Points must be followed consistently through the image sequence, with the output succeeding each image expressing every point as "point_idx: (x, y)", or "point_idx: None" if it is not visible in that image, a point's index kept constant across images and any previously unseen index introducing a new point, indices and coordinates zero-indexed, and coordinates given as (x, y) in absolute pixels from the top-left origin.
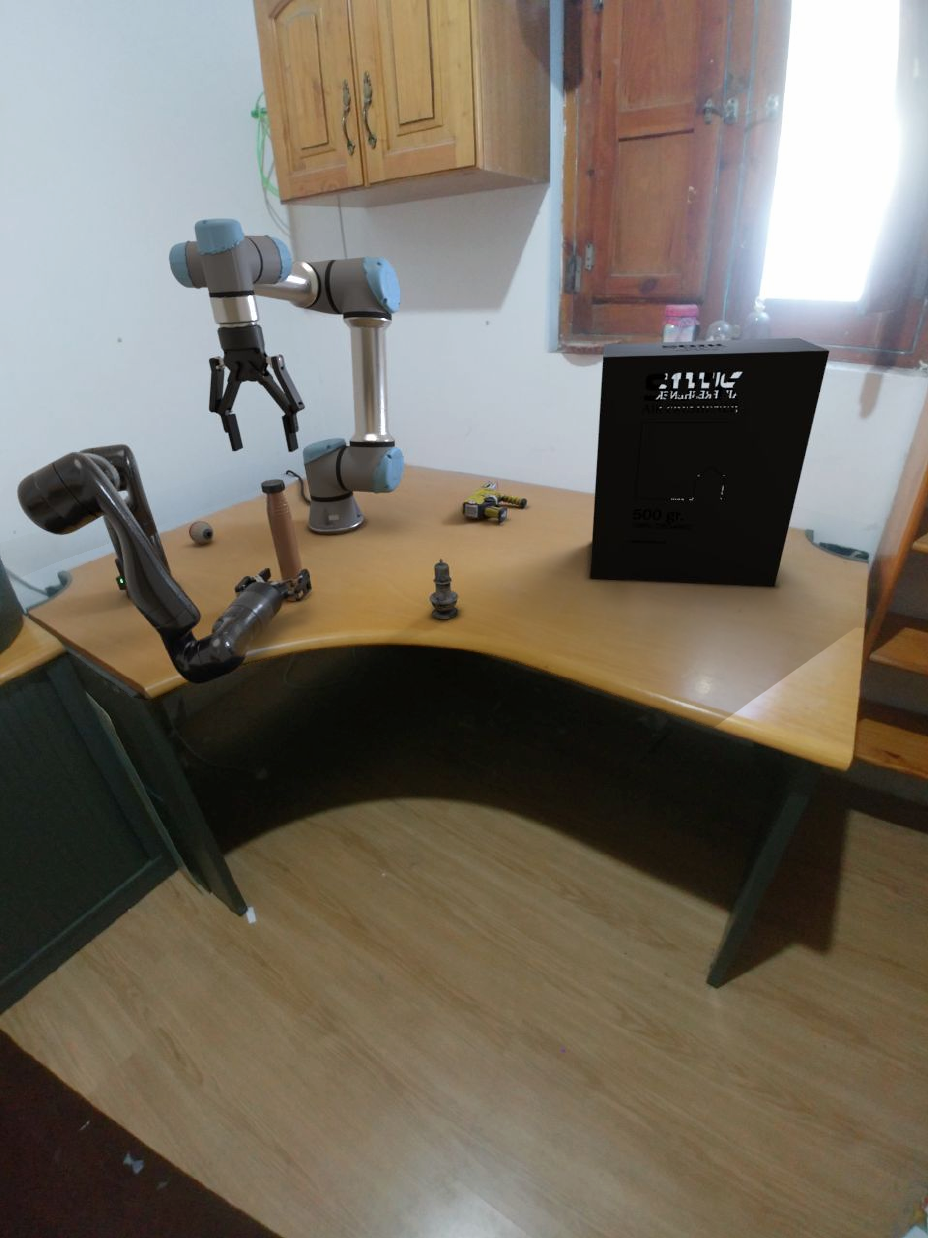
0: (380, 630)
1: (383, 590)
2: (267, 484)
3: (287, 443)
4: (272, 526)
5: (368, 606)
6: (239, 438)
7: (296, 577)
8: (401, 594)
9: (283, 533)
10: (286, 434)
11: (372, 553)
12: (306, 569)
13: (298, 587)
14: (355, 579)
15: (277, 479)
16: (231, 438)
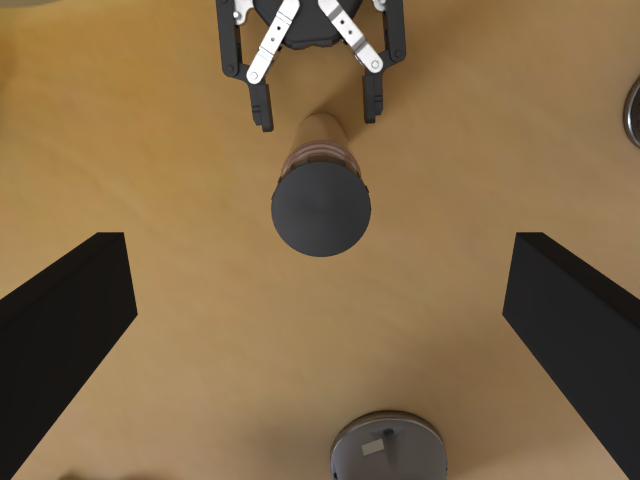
0: (61, 14)
1: (145, 190)
2: (329, 183)
3: (92, 253)
4: (332, 136)
5: (141, 116)
6: (534, 334)
7: (261, 71)
8: (99, 178)
9: (301, 137)
10: (45, 281)
11: (250, 343)
12: (262, 126)
13: (223, 10)
14: (229, 229)
15: (320, 254)
16: (573, 267)
